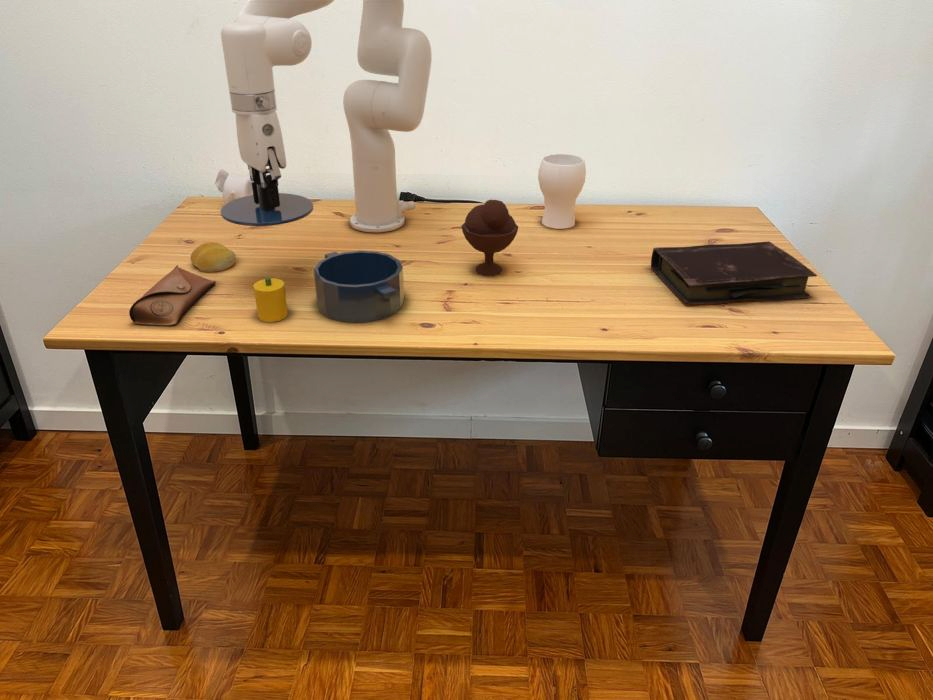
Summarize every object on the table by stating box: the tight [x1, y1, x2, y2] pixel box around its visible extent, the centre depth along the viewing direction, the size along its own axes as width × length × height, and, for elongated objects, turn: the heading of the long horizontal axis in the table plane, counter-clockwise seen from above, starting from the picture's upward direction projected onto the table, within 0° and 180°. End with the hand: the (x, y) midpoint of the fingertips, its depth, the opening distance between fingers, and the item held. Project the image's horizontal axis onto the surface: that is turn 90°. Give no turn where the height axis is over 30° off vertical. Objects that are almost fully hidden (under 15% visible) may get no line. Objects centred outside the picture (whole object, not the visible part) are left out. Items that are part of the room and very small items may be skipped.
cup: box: [537, 153, 587, 230], centre depth 166 cm, size 11×11×15 cm
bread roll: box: [190, 241, 236, 273], centre depth 147 cm, size 8×9×4 cm
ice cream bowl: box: [461, 199, 519, 277], centre depth 142 cm, size 11×11×15 cm
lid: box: [220, 182, 314, 227], centre depth 133 cm, size 17×17×6 cm
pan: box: [312, 250, 405, 324], centre depth 132 cm, size 16×21×7 cm
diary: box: [650, 241, 818, 305], centre depth 141 cm, size 19×25×5 cm
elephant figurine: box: [214, 169, 253, 205], centre depth 176 cm, size 10×12×9 cm
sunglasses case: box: [128, 264, 216, 327], centre depth 132 cm, size 18×7×7 cm
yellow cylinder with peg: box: [252, 276, 289, 323], centre depth 127 cm, size 5×5×7 cm
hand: (267, 204), depth 133 cm, fingers closed on lid, 2 cm apart
